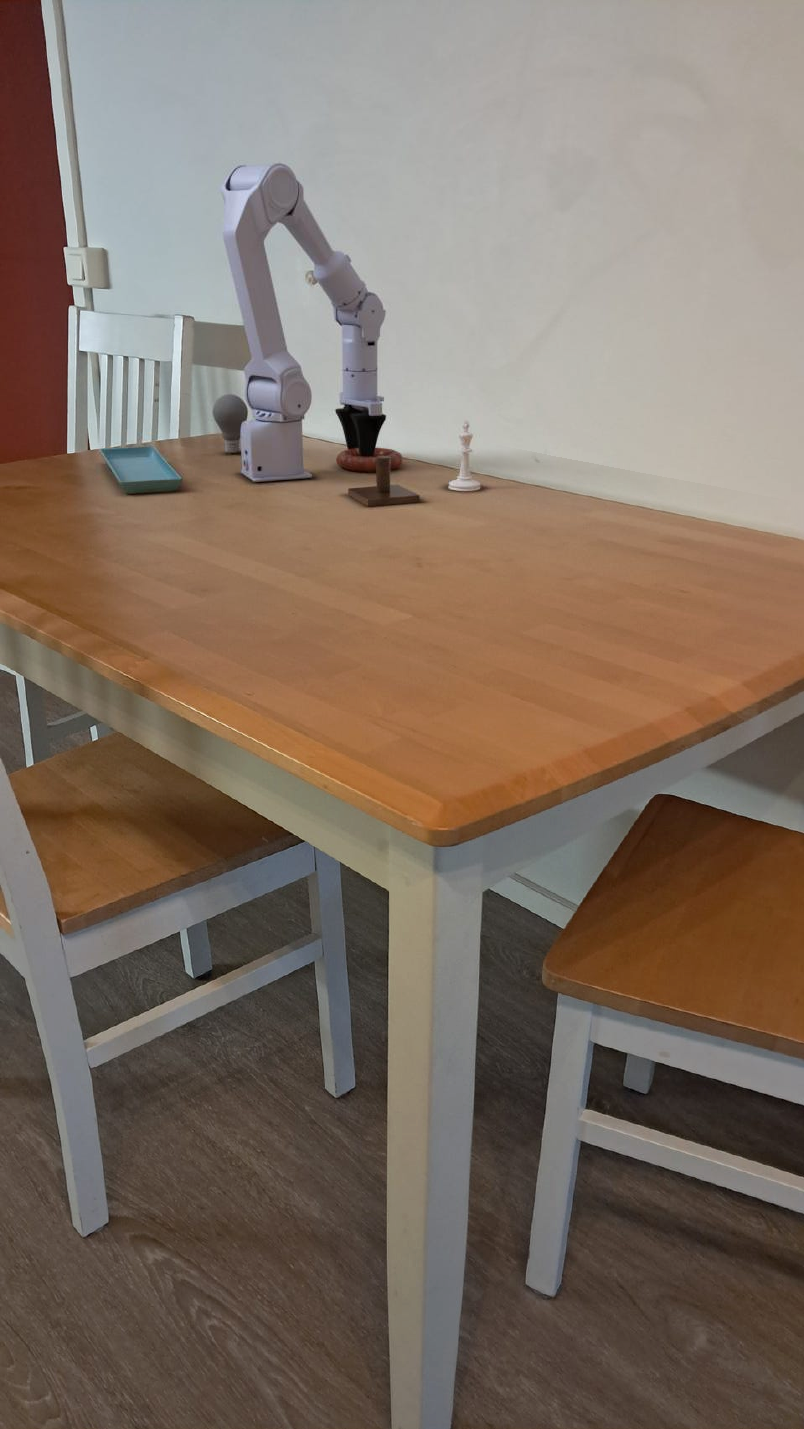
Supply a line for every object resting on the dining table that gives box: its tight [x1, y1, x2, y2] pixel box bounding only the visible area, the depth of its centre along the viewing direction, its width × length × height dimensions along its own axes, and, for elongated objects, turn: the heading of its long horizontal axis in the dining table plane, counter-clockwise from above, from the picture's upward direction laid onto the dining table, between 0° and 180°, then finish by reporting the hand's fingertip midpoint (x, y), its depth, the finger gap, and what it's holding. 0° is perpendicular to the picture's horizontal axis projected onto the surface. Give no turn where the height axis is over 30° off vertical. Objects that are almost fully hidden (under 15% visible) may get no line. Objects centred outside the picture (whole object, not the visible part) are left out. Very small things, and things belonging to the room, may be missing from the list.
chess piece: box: [448, 419, 482, 492], centre depth 160 cm, size 5×5×10 cm
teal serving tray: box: [99, 445, 183, 495], centre depth 167 cm, size 26×9×2 cm, turn 21°
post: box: [347, 456, 420, 507], centre depth 154 cm, size 8×8×6 cm
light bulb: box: [212, 393, 249, 455], centre depth 185 cm, size 6×6×10 cm
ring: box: [335, 447, 404, 473], centre depth 177 cm, size 11×11×2 cm
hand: (360, 453), depth 180 cm, fingers open, 5 cm apart
